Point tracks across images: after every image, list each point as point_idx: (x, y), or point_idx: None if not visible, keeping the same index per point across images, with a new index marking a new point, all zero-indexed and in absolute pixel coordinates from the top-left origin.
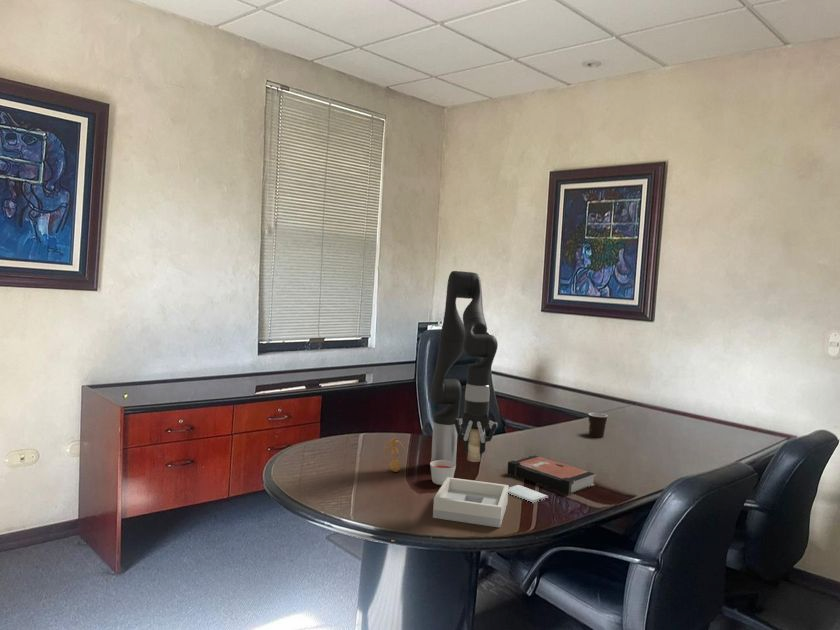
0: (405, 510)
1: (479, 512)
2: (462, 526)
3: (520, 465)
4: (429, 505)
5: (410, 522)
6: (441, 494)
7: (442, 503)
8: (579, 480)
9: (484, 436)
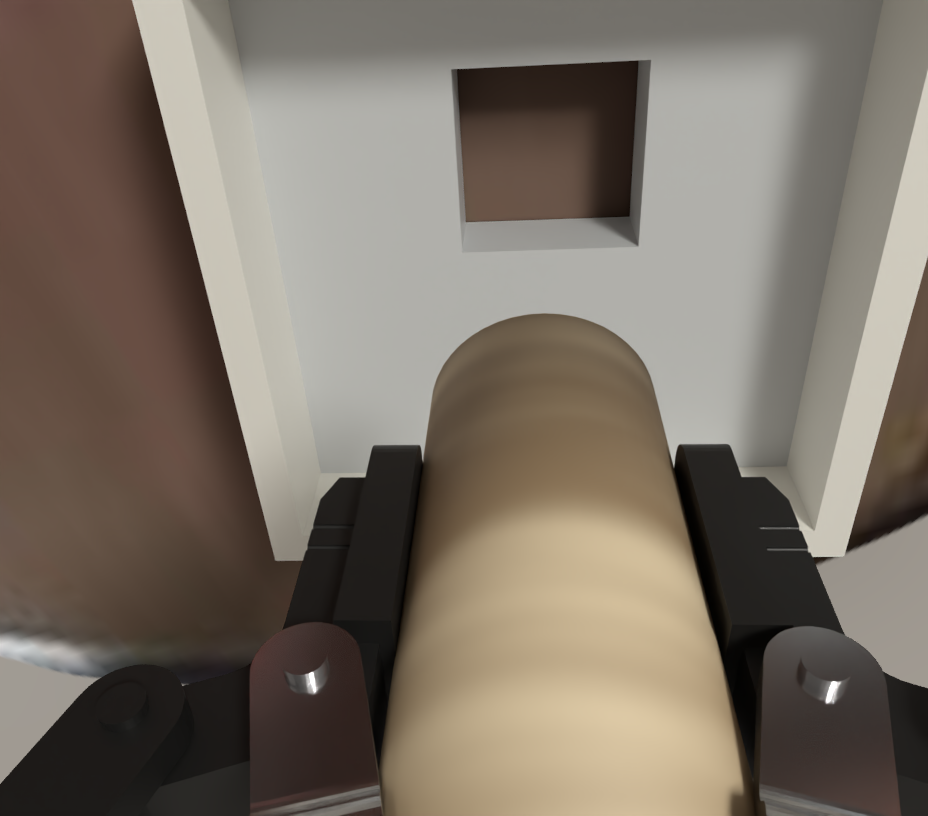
0: (80, 413)
1: None
2: None
3: None
4: (181, 259)
5: (214, 556)
6: (285, 432)
7: None
8: None
9: (853, 778)
